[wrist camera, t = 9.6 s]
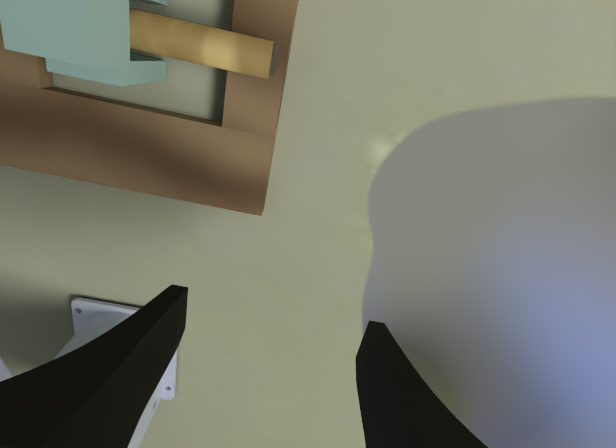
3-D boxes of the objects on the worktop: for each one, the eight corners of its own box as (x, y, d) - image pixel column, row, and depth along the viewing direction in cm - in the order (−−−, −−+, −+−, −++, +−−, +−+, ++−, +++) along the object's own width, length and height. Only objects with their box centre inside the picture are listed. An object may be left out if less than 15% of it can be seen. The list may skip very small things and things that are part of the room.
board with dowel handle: (263, 209, 23) (252, 240, 19) (-20, 153, 22) (-94, 173, 18) (324, -160, 15) (326, -235, 11) (-110, -279, 14) (-274, -408, 10)
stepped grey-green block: (165, 80, 19) (91, 90, 13) (110, 68, 19) (8, 72, 13) (167, -17, 17) (81, -62, 11) (107, -32, 17) (-17, -85, 11)
